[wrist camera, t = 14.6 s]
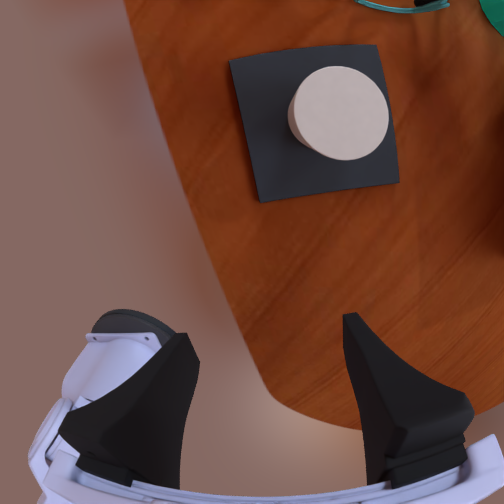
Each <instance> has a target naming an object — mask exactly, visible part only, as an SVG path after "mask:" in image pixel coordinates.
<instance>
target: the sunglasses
mask: <svg viewBox="0 0 504 504" xmlns="http://www.w3.org/2000/svg"><path fill="white" fill-rule="evenodd" d="M354 1H355V2H356V3H359V4H362V5H364V6H367V7H370V8H374V9H378V10H382V11H389V12H395V13H421V12H429V11H435V10H439V9H441V8H445V7H449V5H450V4H449V3H447V1H448V0H414V4H415V6H416V8H395V7H388V6H383V5H379V4H375V3H372V2H368V1H365V0H354ZM433 2H434V3H433Z"/></svg>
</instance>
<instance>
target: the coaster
mask: <svg viewBox="0 0 504 504" xmlns="http://www.w3.org/2000/svg"><path fill="white" fill-rule="evenodd" d="M229 65H230V69H231V73H232V78H233V82H234V86H235V91H236V95H237V99H238V104H239V108H240V113H241V117H242V122H243V126H244V131H245V135H246V140H247V144H248V149H249V154H250V158H251V163H252V168H253V172H254V177H255V182H256V187H257V191H258V196H259V201H260V203H263V202H268V201H274V200H280V199H286V198H292V197H299V196H305V195H311V194H318V193H325V192H332V191H339V190H346V189H354V188H361V187H369V186H377V185H386V184H394V183H399V169H398V159H397V149H396V141H395V133H394V126H393V120H392V114H391V108H390V102H389V97H388V92H387V87H386V82H385V78H384V73H383V69H382V65H381V61H380V57H379V53H378V50H377V46H376V45H333V46H319V47H308V48H298V49H290V50H283V51H276V52H270V53H264V54H259V55H253V56H248V57H243V58H239V59H234V60H230V61H229ZM332 66H342V67H348V68H351V69H354V70H357V71H359V72H361V73H363V74H364V75H366V76H367V77H368V78H370V79H371V80H372V81H373V82H374V83H375V84H376V85H377V87H378V88H379V89H380V91H381V92H382V94H383V96H384V98H385V101H386V104H387V107H388V115H389V121H388V128H387V131H386V134H385V136H384V138H383V140H382V142H381V143H380V144H379V146H378V147H377V148H376V149H375V150H374V151H372V152H371V153H369V154H368V155H366V156H364V157H361V158H358V159H355V160H336V159H332V158H329V157H326V156H324V155H322V154H320V153H318V152H317V151H315V150H313V149H311V148H309V147H307V146H306V145H304V144H303V143H301V142H300V141H299V140H298V139H297V138H296V137H295V136H294V134H293V133H292V131H291V129H290V126H289V123H288V108H289V105H290V103H291V101H292V99H293V97H294V95H295V93H296V92H297V90H298V88H299V86H300V85H301V83H302V82H303V81H304V80H305V79H306V78H307V77H308V76H309V75H310V74H312V73H313V72H315V71H317V70H320V69H322V68H326V67H332Z"/></svg>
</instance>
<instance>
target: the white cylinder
mask: <svg viewBox="0 0 504 504" xmlns="http://www.w3.org/2000/svg"><path fill="white" fill-rule="evenodd" d="M388 121H389V115H388V107H387V104H386V101H385V98H384V96H383V94H382V92H381V91H380V89H379V88H378V87H377V85H376V84H375V83H374V82H373V81H372V80H371V79H370V78H368V77H367V76H366V75H364V74H363V73H361V72H359V71H357V70H354V69H351V68H348V67H342V66H332V67H326V68H322V69H320V70H317V71H315V72H313V73H312V74H310V75H309V76H308V77H307V78H306V79H305V80H304V81H303V82H302V83H301V85H300V86H299V88H298V90H297V92H296V93H295V95H294V97H293V99H292V101H291V103H290V105H289V108H288V123H289V126H290V129H291V131H292V133H293V134H294V136H295V137H296V138H297V139H298V140H299V141H300V142H301V143H303V144H304V145H306V146H307V147H309V148H311V149H313V150H315V151H317V152H318V153H320V154H322V155H324V156H326V157H329V158H332V159H336V160H355V159H358V158H361V157H364V156H366V155H368V154H369V153H371V152H372V151H374V150H375V149H376V148H377V147H378V146H379V144H380V143H381V142H382V140H383V138H384V136H385V134H386V131H387V128H388Z"/></svg>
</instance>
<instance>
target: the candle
mask: <svg viewBox="0 0 504 504" xmlns="http://www.w3.org/2000/svg"><path fill="white" fill-rule="evenodd" d="M479 1H480V4H481V7H482V10H483V11H484V13H485V14H486V16H487V18H488V19H489V21H490V23H491V24H492V25H493V26H494V27H495V28H496V30H497V31H498V32H499V33H500V34H501V35H502V36H503V37H504V0H479Z"/></svg>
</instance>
